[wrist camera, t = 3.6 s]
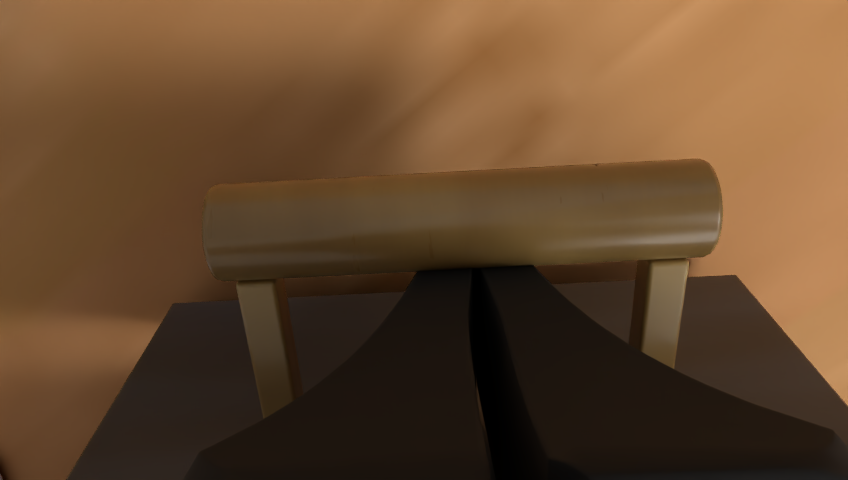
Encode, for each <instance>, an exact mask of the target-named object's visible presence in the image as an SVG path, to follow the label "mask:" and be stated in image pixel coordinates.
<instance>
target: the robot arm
mask: <svg viewBox="0 0 848 480" xmlns="http://www.w3.org/2000/svg"><path fill="white" fill-rule="evenodd" d="M476 378H477V387H478V392H479V398H480V403H481V408H482V413H483V418H484V423H485V428H486V433H487V438H488V443H489V448H490V453H491V458H492V463H493V468H494V473H495V478H496V480H848V447H847V445H846V444H845V443H844V442H843V441H842V440H841V438H840V437H839V436H838V435H837V434H836V433H835V432H834V430H832V429H829V428H826V427H823V426H820V425H817V424H814V423H811V422H808V421H805V420H802V419H799V418H795V417H792V416H789V415H786V414H783V413H780V412H777V411H774V410H771V409H768V408H765V407H762V406H759V405H756V404H753V403H750V402H748V401H745V400H743V399H740V398H738V397H735V396H733V395H731V394H728V393H726V392H723V391H721V390H718V389H716V388H714V387H711V386H709V385H706V384H704V383H702V382H700V381H698V380H696V379H693V378H691V377H689V376H687V375H685V374H683V373H681V372H679V371H677V370H675V369H673V368H671V367H669V366H667V365H665V364H663V363H661V362H660V361H658V360H656V359H654V358H652V357H650V356H648V355H646V354H645V353H643V352H641V351H640V350H638V349H636V348H634V347H633V346H631V345H629V344H628V343H626V342H625V341H623V340H622V339H620V338H619V337H617V336H616V335H614V334H613V333H611V332H610V331H608V330H607V329H605V328H604V327H602V326H601V325H599V324H598V323H597V322H595V321H594V320H593V319H591V318H590V317H589V316H587V315H586V314H585V313H584V312H582V311H581V310H580V309H579V308H578V307H576V306H575V305H574V304H573V303H571V302H570V301H569V300H568V299H567V298H566V297H565V296H563V295H562V294H561V293H560V292H559V291H558V290H557V289H556V288H555V287H554V286H553V285H552V284H551V283H550V282H549V281H548V280H547V279H546V278H545V277H544V276H543V275H542V274H541V273H540V272H539V271H538V270H537V269H536V268H535V267H534V266H532V265H528V266H508V267H488V268H477V269H472V268H468V269H448V270H428V271H418V272H417V273H416V275H415V276H414V278H413V280H412V281H411V283H410V284H409V286H408V287H407V289H406V291H405V292H404V294H403V295H402V297H401V298H400V300H399V301H398V302H397V304H396V305H395V306H394V308H393V309H392V310H391V312H390V313H389V314H388V315H387V317H386V318H385V319H384V321H383V322H382V323H381V324H380V326H379V327H378V328H377V329H376V330H375V331H374V333H373V334H372V335H371V336H370V337H369V338H368V339H367V340H366V341H365V342H364V344H363V345H362V346H361V347H360V348H359V349H358V350H357V351H356V352H355V353H354V354H353V355H352V356H351V357H349V358H348V359H347V360H346V361H345V362H344V363H343V364H341V365H340V366H339V367H338V368H337V369H335V370H334V371H333V372H332V373H330V374H329V375H328V376H327V377H326V378H324V379H323V380H322V381H321V382H319V383H318V384H317V385H315V386H314V387H313V388H311V389H310V390H308V391H307V392H305V393H304V394H302V395H301V396H300V397H298V398H297V399H295V400H294V401H292V402H290V403H289V404H287V405H286V406H284V407H282V408H281V409H279V410H278V411H276V412H274V413H273V414H271V415H269V416H268V417H266V418H264V419H263V420H261V421H259V422H257V423H255V424H253V425H251V426H249V427H247V428H246V429H244V430H242V431H240V432H238V433H236V434H234V435H232V436H230V437H228V438H226V439H224V440H222V441H220V442H218V443H216V444H214V445H212V446H210V447H208V448H206V449H204V450H201V451H200V452H199V453H198V454H197V456H196V458H195V460H194V461H193V463H192V465H191V467H190V469H189V471H188V472H187V474H186V475H185V477H184V479H183V480H490V470H489V463H488V458H487V454H486V449H485V443H484V437H483V432H482V426H481V420H480V414H479V407H478V400H477V393H476ZM0 480H3V479H2V477H1V474H0Z"/></svg>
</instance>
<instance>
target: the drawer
mask: <svg viewBox="0 0 848 480" xmlns="http://www.w3.org/2000/svg"><path fill="white" fill-rule="evenodd" d="M722 218H723V205H722V195H721V189H720V185H719V181H718V178H717V176H716V173H715V171H714V169H713V168H712V166H711V165H710V164H709V163H708V162H706V161H704V160H701V159H682V160H663V161H645V162H626V163H607V164H588V165H569V166H551V167H532V168H513V169H494V170H475V171H457V172H438V173H419V174H400V175H381V176H363V177H344V178H325V179H306V180H287V181H269V182H250V183H231V184H217V185H215V186H213V187H211V188H210V189H209V191H208V192H207V194H206V197H205V200H204V205H203V211H202V224H201V228H202V242H203V249H204V254H205V257H206V261H207V264H208V267H209V269H210V271H211V273H212V275H213V276H214V277H215V278H216V279H218V280H221V281H238V282H237V285H236V289H237V294H238V299H239V300H228V301H209V302H189V303H174V304H173V305H172V306H171V308H170V309H169V311H168V313H167V314H166V316H165V318H164V319H163V321H162V323H161V324H160V326H159V328H158V329H157V331H156V332H155V334H154V336H153V337H152V339H151V341H150V342H149V344H148V346H147V347H146V349H145V351H144V352H143V354H142V356H141V357H140V359H139V360H138V362H137V364H136V365H135V367H134V369H133V370H132V372H131V374H130V375H129V377H128V379H127V380H126V382H125V383H124V385H123V387H122V388H121V390H120V392H119V393H118V395H117V397H116V398H115V400H114V402H113V403H112V405H111V406H110V408H109V410H108V411H107V413H106V415H105V416H104V418H103V420H102V421H101V423H100V425H99V426H98V428H97V430H96V431H95V433H94V434H93V436H92V438H91V439H90V441H89V443H88V444H87V446H86V448H85V449H84V451H83V453H82V454H81V456H80V457H79V459H78V461H77V462H76V464H75V466H74V467H73V469H72V471H71V472H70V474H69V476H68V477H67V479H66V480H183V479H184V477H185V475H186V474H187V472H188V471H189V469H190V467H191V465H192V463H193V461H194V460H195V458H196V456H197V454H198V453H199V452H200V451H201V450H204V449H206V448H208V447H210V446H212V445H214V444H216V443H218V442H220V441H222V440H224V439H226V438H228V437H230V436H232V435H234V434H236V433H238V432H240V431H242V430H244V429H246V428H247V427H249V426H251V425H253V424H255V423H257V422H259V421H261V420H263V419H264V418H266V417H268V416H269V415H271V414H273V413H274V412H276V411H278V410H279V409H281V408H282V407H284V406H286V405H287V404H289V403H290V402H292V401H294V400H295V399H297V398H298V397H300V396H301V395H302V394H304V393H305V392H307V391H308V390H310V389H311V388H313V387H314V386H315V385H317V384H318V383H319V382H321V381H322V380H323V379H324V378H326V377H327V376H328V375H329V374H330V373H332V372H333V371H334V370H335V369H337V368H338V367H339V366H340V365H341V364H343V363H344V362H345V361H346V360H347V359H348V358H349V357H351V356H352V355H353V354H354V353H355V352H356V351H357V350H358V349H359V348H360V347H361V346H362V345H363V344H364V342H365V341H366V340H367V339H368V338H369V337H370V336H371V335H372V334H373V333H374V331H375V330H376V329H377V328H378V327H379V326H380V324H381V323H382V322H383V321H384V319H385V318H386V317H387V315H388V314H389V313H390V312H391V310H392V309H393V308H394V306H395V305H396V304H397V302H398V301H399V300H400V298H401V297H402V295H403V294H404V292H387V293H367V294H347V295H328V296H308V297H288V298H287V294H286V288H285V282H284V278H300V277H319V276H339V275H359V274H378V273H398V272H418V271H428V270H448V269H468V268H472V269H477V268H488V267H508V266H528V265H532V266H536V265H555V264H575V263H595V262H614V261H634V260H637V268H636V278H635V280H625V281H605V282H586V283H566V284H552V285H553V286H554V287H555V288H556V289H557V290H558V291H559V292H560V293H561V294H562V295H563V296H565V297H566V298H567V299H568V300H569V301H570V302H571V303H573V304H574V305H575V306H576V307H578V308H579V309H580V310H581V311H582V312H584V313H585V314H586V315H587V316H589V317H590V318H591V319H593V320H594V321H595V322H597V323H598V324H599V325H601V326H602V327H604V328H605V329H607V330H608V331H610V332H611V333H613V334H614V335H616V336H617V337H619V338H620V339H622V340H623V341H625V342H626V343H628V344H629V345H631V346H633V347H634V348H636V349H638V350H640V351H641V352H643V353H645V354H646V355H648V356H650V357H652V358H654V359H656V360H658V361H660V362H661V363H663V364H665V365H667V366H669V367H671V368H673V369H675V370H677V371H679V372H681V373H683V374H685V375H687V376H689V377H691V378H693V379H696V380H698V381H700V382H702V383H704V384H706V385H709V386H711V387H714V388H716V389H718V390H721V391H723V392H726V393H728V394H731V395H733V396H735V397H738V398H740V399H743V400H745V401H748V402H750V403H753V404H756V405H759V406H762V407H765V408H768V409H771V410H774V411H777V412H780V413H783V414H786V415H789V416H792V417H795V418H799V419H802V420H805V421H808V422H811V423H814V424H817V425H820V426H823V427H826V428H829V429H832V430H834V432H835V433H836V434H837V435H838V436H839V437H840V438H841V440H842V441H843V442H844V443H845V444H846V445H847V447H848V406H847V405H846V403H845V402H844V401H843V400H842V399H841V398H840V396H839V395H838V394H837V393H836V392H835V391H834V389H833V388H832V387H831V386H830V385H829V384H828V382H827V381H826V380H825V379H824V378H823V376H822V375H821V374H820V373H819V372H818V371H817V369H816V368H815V367H814V366H813V365H812V364H811V362H810V361H809V360H808V359H807V358H806V357H805V355H804V354H803V353H802V352H801V351H800V350H799V348H798V347H797V346H796V345H795V344H794V343H793V341H792V340H791V339H790V338H789V337H788V336H787V334H786V333H785V332H784V331H783V330H782V328H781V327H780V326H779V325H778V324H777V323H776V321H775V320H774V319H773V318H772V317H771V316H770V314H769V313H768V312H767V311H766V310H765V309H764V307H763V306H762V305H761V304H760V303H759V302H758V300H757V299H756V298H755V297H754V296H753V295H752V293H751V292H750V291H749V290H748V289H747V288H746V286H745V285H744V284H743V283H742V282H741V280H740V279H739V278H738V277H737V276H736V275H724V276H705V277H687V274H688V267H689V262H688V260H687V259H686V258H693V257H704V256H706V255H708V254H710V253H711V252H712V251H713V250H714V248H715V247H716V245H717V243H718V240H719V237H720V233H721V228H722ZM476 393H477V400H478V407H479V414H480V420H481V426H482V432H483V437H484V443H485V449H486V454H487V458H488V463H489V470H490V480H496V478H495V473H494V468H493V463H492V458H491V453H490V448H489V443H488V438H487V433H486V428H485V423H484V418H483V413H482V408H481V403H480V398H479V392H478V387H477V378H476Z"/></svg>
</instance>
